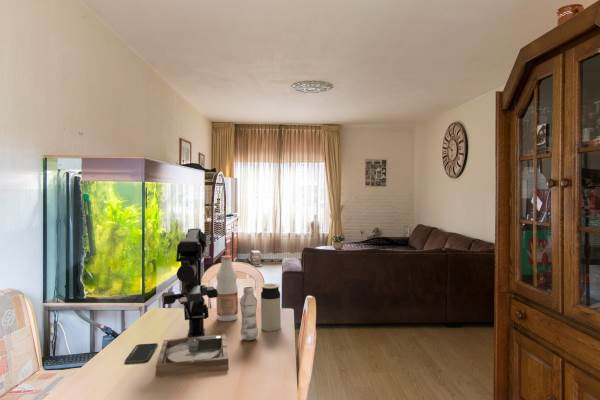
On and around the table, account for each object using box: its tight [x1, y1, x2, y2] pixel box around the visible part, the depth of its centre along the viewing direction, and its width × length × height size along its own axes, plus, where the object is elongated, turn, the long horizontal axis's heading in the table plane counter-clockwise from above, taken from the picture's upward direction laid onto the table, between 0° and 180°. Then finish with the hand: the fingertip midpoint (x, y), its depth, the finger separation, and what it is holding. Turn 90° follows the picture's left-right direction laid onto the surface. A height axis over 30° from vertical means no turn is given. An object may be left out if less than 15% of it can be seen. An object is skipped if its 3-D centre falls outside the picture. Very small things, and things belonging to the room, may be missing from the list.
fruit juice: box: [215, 255, 239, 322], centre depth 177 cm, size 9×9×28 cm
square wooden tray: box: [155, 334, 230, 378], centre depth 135 cm, size 22×22×4 cm
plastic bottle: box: [239, 286, 259, 341], centre depth 152 cm, size 6×7×20 cm
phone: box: [124, 342, 159, 364], centre depth 139 cm, size 8×1×15 cm
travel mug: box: [260, 282, 282, 332], centre depth 164 cm, size 8×8×18 cm
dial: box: [166, 336, 221, 363], centre depth 135 cm, size 18×18×5 cm
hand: (190, 318), depth 141 cm, fingers closed
